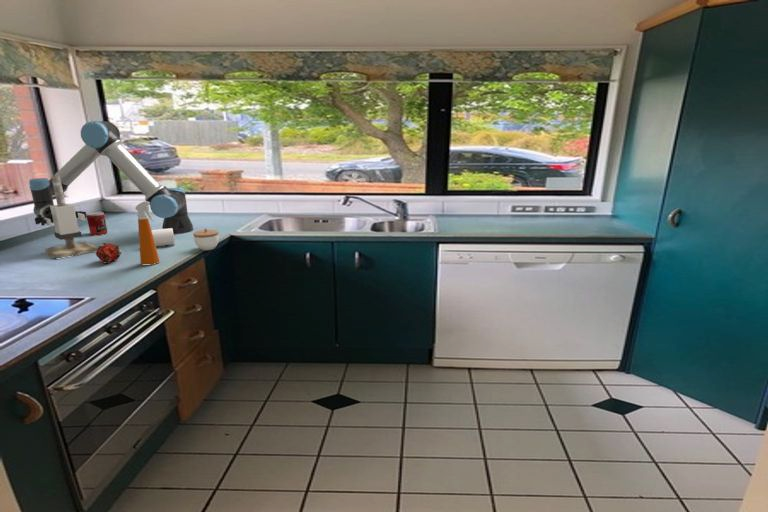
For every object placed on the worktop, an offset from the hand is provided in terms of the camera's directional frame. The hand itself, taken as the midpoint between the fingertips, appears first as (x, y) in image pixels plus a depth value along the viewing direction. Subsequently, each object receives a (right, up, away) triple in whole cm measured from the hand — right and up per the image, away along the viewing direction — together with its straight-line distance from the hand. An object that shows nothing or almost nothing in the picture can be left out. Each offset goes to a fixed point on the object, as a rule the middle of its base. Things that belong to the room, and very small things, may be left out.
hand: (67, 220), depth 196 cm
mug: (+33, -11, +18) cm, 39 cm away
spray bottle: (+43, -19, -11) cm, 48 cm away
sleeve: (-3, -5, +4) cm, 7 cm away
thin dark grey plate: (-3, -7, +4) cm, 9 cm away
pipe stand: (-3, -14, +7) cm, 16 cm away
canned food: (-11, -4, +39) cm, 41 cm away
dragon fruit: (+23, -18, -7) cm, 30 cm away
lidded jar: (+57, -12, +11) cm, 59 cm away
